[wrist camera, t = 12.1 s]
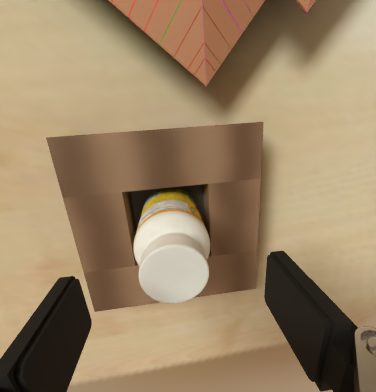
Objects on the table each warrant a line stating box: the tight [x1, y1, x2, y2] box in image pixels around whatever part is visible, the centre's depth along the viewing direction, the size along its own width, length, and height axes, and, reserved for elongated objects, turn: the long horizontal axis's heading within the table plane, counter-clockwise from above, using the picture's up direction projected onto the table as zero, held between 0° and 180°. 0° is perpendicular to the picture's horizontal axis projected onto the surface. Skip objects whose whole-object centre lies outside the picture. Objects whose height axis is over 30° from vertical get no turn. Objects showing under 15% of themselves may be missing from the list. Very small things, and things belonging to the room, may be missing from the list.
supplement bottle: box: [134, 187, 210, 304], centre depth 16 cm, size 5×5×10 cm
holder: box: [46, 122, 263, 312], centre depth 19 cm, size 16×16×4 cm
